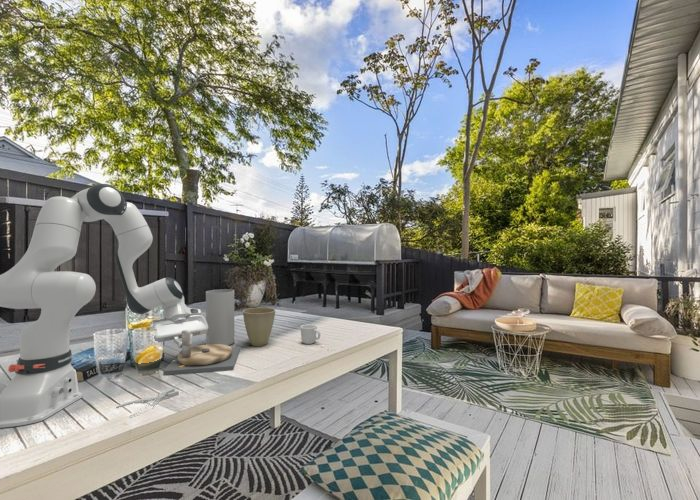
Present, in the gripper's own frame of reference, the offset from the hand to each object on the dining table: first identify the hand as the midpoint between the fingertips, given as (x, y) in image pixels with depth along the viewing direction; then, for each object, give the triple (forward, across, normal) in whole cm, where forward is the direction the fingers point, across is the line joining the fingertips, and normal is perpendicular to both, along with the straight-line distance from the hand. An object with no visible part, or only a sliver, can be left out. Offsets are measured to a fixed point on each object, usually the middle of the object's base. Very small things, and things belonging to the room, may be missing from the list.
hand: (185, 346), depth 130 cm
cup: (+13, +53, -2) cm, 55 cm away
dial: (+4, +8, +4) cm, 9 cm away
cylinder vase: (-7, +22, +19) cm, 30 cm away
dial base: (+6, +7, +5) cm, 11 cm away
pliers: (+23, -18, -12) cm, 31 cm away
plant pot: (+2, +35, +10) cm, 36 cm away
